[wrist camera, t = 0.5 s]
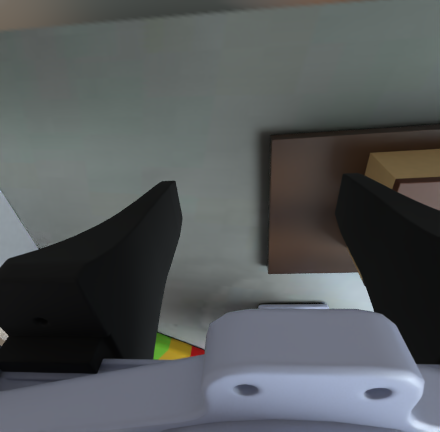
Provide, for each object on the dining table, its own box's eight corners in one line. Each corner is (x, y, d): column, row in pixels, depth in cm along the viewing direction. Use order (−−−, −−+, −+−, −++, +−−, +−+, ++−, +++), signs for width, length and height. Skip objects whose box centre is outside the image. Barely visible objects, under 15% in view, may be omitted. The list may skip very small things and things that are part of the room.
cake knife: (79, 299, 33) (59, 333, 30) (60, 299, 34) (39, 333, 30) (-11, 153, 22) (-59, 179, 19) (-38, 155, 23) (-90, 181, 19)
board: (453, 263, 27) (460, 270, 26) (267, 266, 28) (268, 274, 28) (538, 117, 19) (551, 122, 18) (270, 135, 20) (271, 139, 19)
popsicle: (195, 366, 42) (193, 379, 41) (101, 333, 38) (95, 346, 36) (213, 352, 39) (212, 365, 38) (114, 314, 35) (109, 328, 34)
